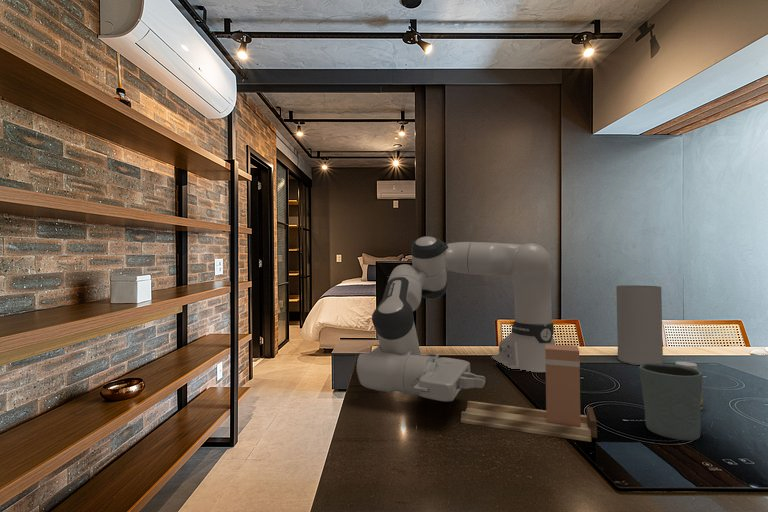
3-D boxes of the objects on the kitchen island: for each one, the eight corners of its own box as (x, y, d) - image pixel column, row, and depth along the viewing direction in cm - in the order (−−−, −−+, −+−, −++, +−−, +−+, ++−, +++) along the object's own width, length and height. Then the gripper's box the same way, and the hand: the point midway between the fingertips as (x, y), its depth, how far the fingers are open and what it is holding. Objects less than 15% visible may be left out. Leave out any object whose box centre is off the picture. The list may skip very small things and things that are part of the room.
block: (546, 425, 77) (544, 348, 77) (546, 416, 81) (545, 344, 82) (581, 430, 74) (579, 351, 75) (579, 420, 79) (577, 346, 79)
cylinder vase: (672, 366, 123) (670, 287, 124) (632, 367, 124) (630, 287, 124) (646, 357, 136) (644, 285, 136) (610, 357, 136) (608, 285, 137)
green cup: (686, 446, 70) (685, 378, 70) (629, 426, 79) (627, 366, 79) (715, 434, 75) (713, 371, 75) (657, 416, 84) (656, 360, 84)
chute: (460, 422, 81) (460, 405, 81) (468, 407, 89) (468, 391, 90) (597, 442, 72) (597, 422, 72) (592, 424, 80) (591, 406, 80)
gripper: (406, 373, 80) (475, 380, 74) (433, 352, 99) (490, 357, 93) (407, 404, 80) (476, 414, 74) (434, 377, 98) (490, 383, 93)
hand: (484, 382), depth 84 cm, fingers closed
